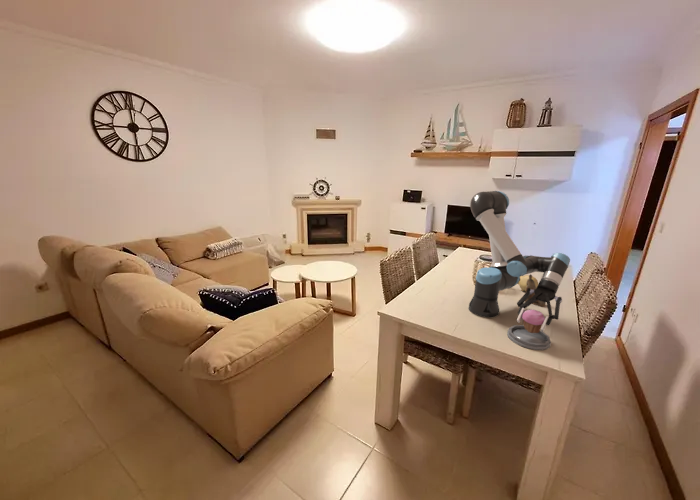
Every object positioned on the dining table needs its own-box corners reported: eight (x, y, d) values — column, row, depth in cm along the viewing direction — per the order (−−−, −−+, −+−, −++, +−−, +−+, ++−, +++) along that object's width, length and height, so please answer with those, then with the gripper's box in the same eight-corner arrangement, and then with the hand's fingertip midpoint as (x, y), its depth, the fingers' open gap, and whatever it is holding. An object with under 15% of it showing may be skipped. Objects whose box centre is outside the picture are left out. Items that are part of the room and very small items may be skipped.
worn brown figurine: (520, 304, 173) (518, 274, 171) (524, 301, 176) (522, 272, 174) (543, 307, 163) (541, 276, 161) (547, 305, 166) (545, 274, 164)
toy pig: (520, 285, 193) (523, 270, 190) (539, 292, 183) (542, 276, 180) (511, 288, 188) (514, 273, 185) (530, 295, 178) (534, 279, 175)
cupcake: (547, 335, 128) (551, 315, 125) (528, 336, 127) (532, 316, 124) (533, 325, 136) (537, 305, 133) (515, 326, 135) (519, 306, 133)
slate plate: (499, 336, 135) (500, 331, 135) (518, 325, 144) (519, 321, 144) (539, 355, 122) (540, 350, 121) (557, 342, 131) (558, 337, 130)
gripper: (578, 294, 128) (559, 339, 123) (525, 280, 144) (506, 319, 139) (577, 286, 123) (557, 332, 118) (522, 272, 140) (502, 312, 134)
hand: (529, 325), depth 128 cm, fingers closed on cupcake, 9 cm apart
